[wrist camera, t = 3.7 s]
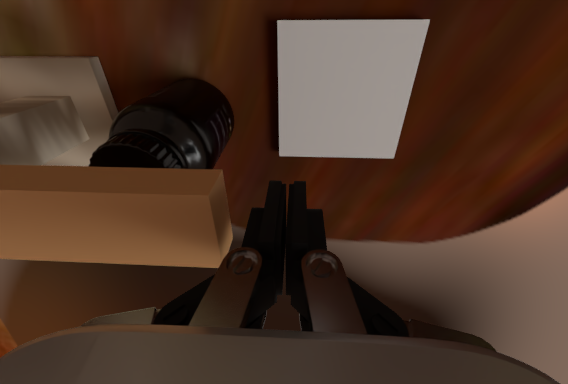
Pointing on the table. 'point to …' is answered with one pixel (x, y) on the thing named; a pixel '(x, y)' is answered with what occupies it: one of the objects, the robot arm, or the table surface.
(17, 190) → the strap bar
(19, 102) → the stand
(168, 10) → the table surface
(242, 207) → the table surface
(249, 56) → the table surface
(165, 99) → the supplement bottle
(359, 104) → the grey mat
